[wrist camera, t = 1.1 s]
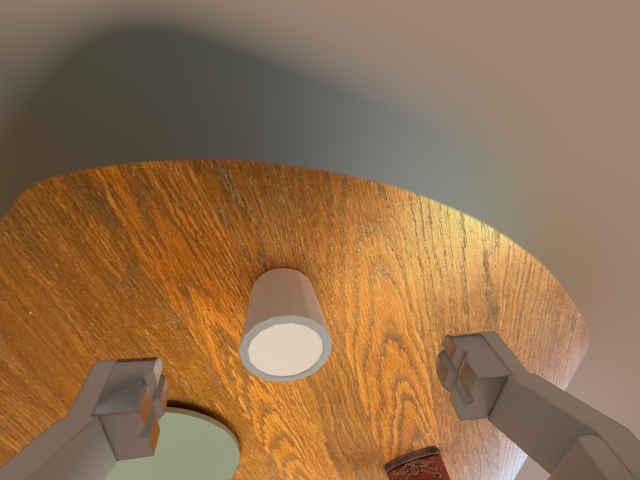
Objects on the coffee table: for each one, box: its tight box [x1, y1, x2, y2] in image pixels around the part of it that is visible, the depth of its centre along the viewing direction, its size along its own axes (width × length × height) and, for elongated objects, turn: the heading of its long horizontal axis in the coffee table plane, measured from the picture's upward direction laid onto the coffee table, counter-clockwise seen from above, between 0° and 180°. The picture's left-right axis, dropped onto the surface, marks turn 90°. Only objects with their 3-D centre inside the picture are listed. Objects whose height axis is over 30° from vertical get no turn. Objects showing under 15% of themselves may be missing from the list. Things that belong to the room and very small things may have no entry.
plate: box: [104, 407, 240, 480], centre depth 40 cm, size 18×18×2 cm
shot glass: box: [239, 268, 331, 382], centre depth 29 cm, size 7×7×7 cm
